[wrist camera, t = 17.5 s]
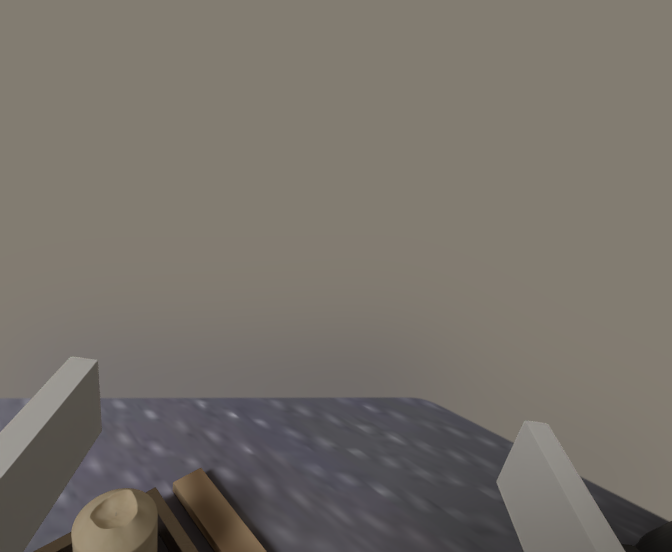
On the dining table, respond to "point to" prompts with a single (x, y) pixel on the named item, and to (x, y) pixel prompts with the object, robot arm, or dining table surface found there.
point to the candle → (117, 523)
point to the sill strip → (214, 515)
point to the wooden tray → (167, 529)
